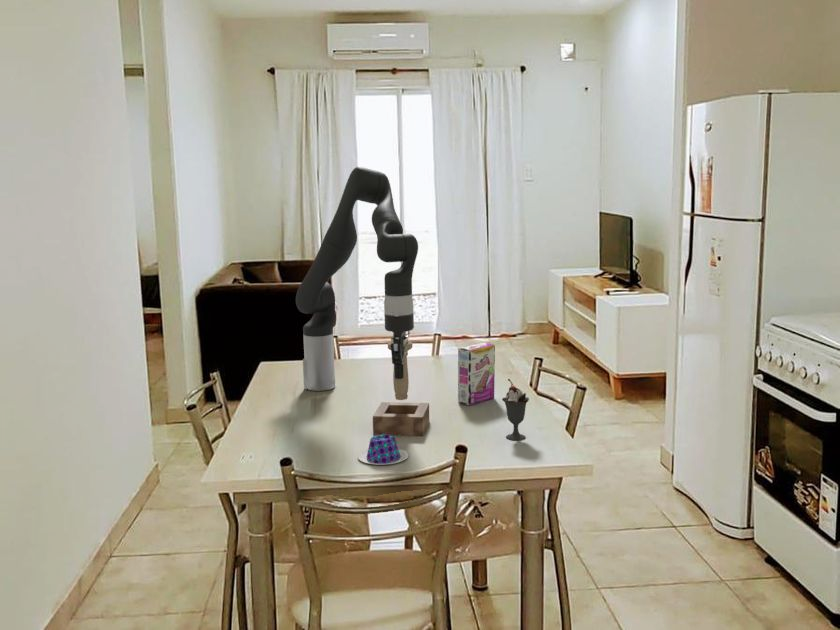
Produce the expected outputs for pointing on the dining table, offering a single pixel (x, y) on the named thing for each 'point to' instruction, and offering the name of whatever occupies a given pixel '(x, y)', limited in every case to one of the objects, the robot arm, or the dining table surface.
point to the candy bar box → (476, 373)
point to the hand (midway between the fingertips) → (400, 376)
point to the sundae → (515, 410)
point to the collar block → (401, 419)
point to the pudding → (383, 451)
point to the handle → (402, 384)
